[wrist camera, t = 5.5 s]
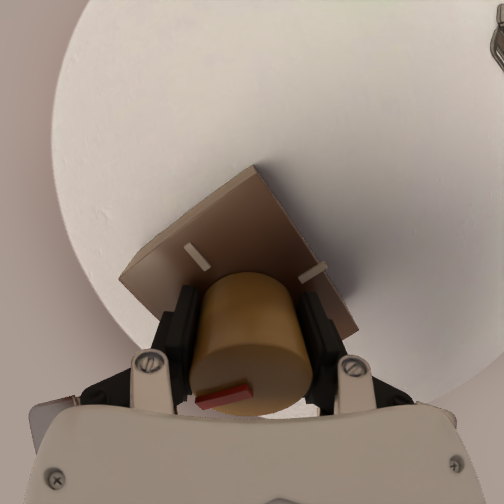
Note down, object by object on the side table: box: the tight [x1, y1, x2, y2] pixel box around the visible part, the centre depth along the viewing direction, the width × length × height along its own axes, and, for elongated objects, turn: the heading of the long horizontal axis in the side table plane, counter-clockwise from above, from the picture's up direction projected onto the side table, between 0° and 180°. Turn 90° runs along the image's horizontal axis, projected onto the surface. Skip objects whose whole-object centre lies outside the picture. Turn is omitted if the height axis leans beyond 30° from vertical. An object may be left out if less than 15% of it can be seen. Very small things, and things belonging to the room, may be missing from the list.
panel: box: [118, 165, 359, 340], centre depth 14 cm, size 10×9×3 cm
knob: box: [188, 272, 313, 416], centre depth 11 cm, size 4×4×5 cm
